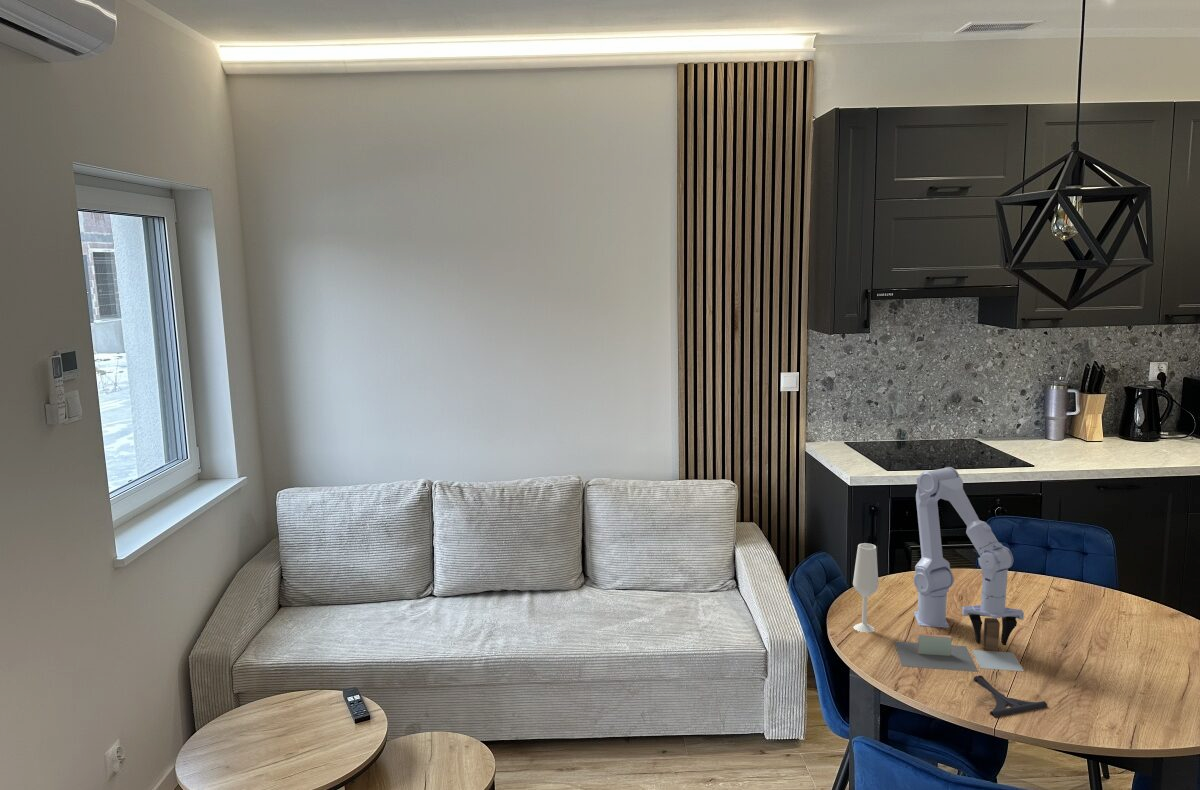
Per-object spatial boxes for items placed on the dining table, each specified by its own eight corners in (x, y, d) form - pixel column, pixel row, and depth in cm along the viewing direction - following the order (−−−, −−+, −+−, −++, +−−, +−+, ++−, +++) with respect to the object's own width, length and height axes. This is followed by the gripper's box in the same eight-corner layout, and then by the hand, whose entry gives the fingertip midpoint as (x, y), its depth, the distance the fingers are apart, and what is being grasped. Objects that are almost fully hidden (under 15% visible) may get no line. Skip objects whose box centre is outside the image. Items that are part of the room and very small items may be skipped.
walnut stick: (982, 646, 226) (984, 617, 225) (994, 647, 225) (996, 618, 224) (985, 651, 223) (987, 622, 222) (997, 652, 222) (999, 623, 221)
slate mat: (894, 642, 229) (894, 641, 229) (965, 647, 225) (965, 646, 225) (901, 667, 215) (901, 665, 215) (978, 673, 212) (978, 671, 212)
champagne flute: (872, 624, 240) (876, 542, 236) (879, 634, 234) (883, 550, 230) (848, 624, 240) (851, 542, 236) (854, 634, 234) (857, 550, 230)
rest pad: (971, 651, 223) (971, 649, 223) (1012, 654, 221) (1013, 652, 221) (980, 669, 214) (980, 668, 214) (1023, 672, 212) (1024, 671, 212)
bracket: (1000, 679, 210) (1000, 668, 210) (1047, 709, 196) (1048, 698, 195) (950, 689, 206) (950, 678, 206) (994, 720, 192) (995, 709, 192)
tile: (917, 651, 223) (918, 633, 222) (949, 654, 221) (950, 635, 220) (917, 653, 221) (918, 635, 221) (950, 656, 220) (951, 637, 219)
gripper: (967, 597, 219) (964, 647, 221) (1028, 601, 216) (1025, 651, 219) (961, 587, 226) (958, 635, 228) (1020, 590, 223) (1017, 639, 225)
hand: (990, 642), depth 224 cm, fingers open, 6 cm apart
